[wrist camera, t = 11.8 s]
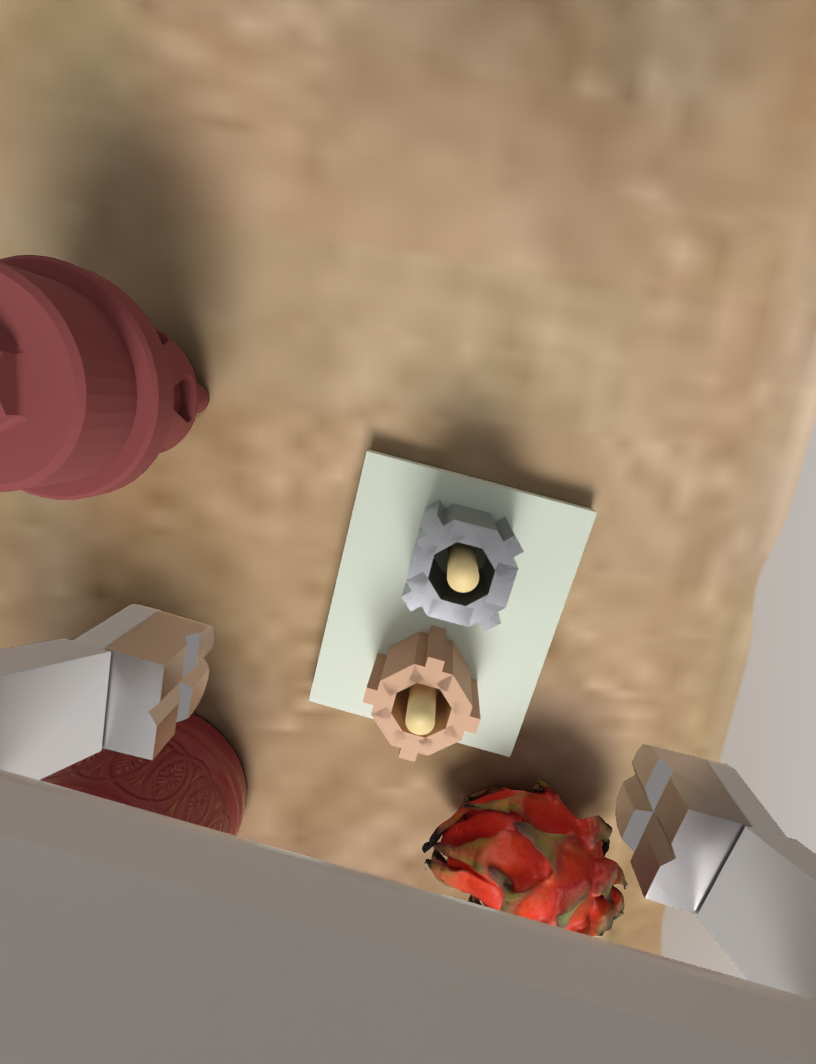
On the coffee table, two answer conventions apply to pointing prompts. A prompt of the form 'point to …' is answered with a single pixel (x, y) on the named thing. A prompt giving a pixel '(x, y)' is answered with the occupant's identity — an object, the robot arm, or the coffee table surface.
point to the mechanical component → (83, 383)
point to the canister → (170, 778)
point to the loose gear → (495, 576)
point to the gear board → (433, 644)
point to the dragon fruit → (530, 859)
